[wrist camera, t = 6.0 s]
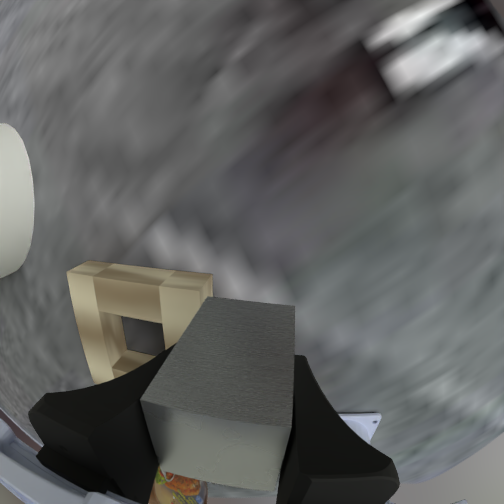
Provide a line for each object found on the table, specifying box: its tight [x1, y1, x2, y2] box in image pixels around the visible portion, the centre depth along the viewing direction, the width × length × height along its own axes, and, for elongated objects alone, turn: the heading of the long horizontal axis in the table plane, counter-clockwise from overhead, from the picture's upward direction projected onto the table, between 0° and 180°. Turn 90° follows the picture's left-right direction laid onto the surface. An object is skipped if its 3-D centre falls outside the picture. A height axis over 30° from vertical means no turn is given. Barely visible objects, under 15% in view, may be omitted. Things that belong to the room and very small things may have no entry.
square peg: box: [140, 296, 295, 491], centre depth 10 cm, size 4×4×7 cm
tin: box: [149, 464, 208, 504], centre depth 24 cm, size 15×3×8 cm, turn 10°
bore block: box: [67, 260, 213, 384], centre depth 21 cm, size 11×11×3 cm
